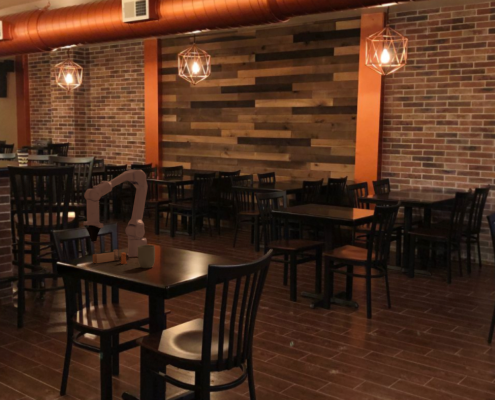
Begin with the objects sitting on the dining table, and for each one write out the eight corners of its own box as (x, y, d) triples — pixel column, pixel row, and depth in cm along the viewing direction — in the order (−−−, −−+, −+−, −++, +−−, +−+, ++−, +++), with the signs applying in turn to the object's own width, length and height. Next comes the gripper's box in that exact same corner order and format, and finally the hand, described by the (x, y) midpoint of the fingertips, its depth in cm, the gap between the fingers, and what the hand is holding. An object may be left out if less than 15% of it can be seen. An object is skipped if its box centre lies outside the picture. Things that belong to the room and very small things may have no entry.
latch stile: (125, 262, 284) (125, 252, 283) (127, 263, 281) (126, 253, 281) (120, 262, 283) (120, 252, 283) (121, 264, 280) (121, 253, 280)
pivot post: (118, 259, 293) (118, 249, 292) (119, 260, 290) (119, 250, 290) (112, 259, 292) (112, 249, 291) (113, 260, 289) (113, 250, 289)
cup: (158, 266, 274) (157, 245, 273) (150, 269, 266) (149, 247, 266) (143, 265, 276) (142, 244, 275) (134, 268, 269) (134, 247, 268)
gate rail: (112, 260, 291) (112, 251, 290) (114, 260, 289) (114, 252, 289) (92, 263, 283) (92, 254, 282) (94, 263, 281) (94, 255, 281)
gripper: (77, 213, 287) (78, 240, 289) (93, 215, 277) (94, 243, 279) (90, 211, 293) (91, 239, 294) (106, 213, 282) (107, 242, 284)
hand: (93, 241), depth 286 cm, fingers closed
